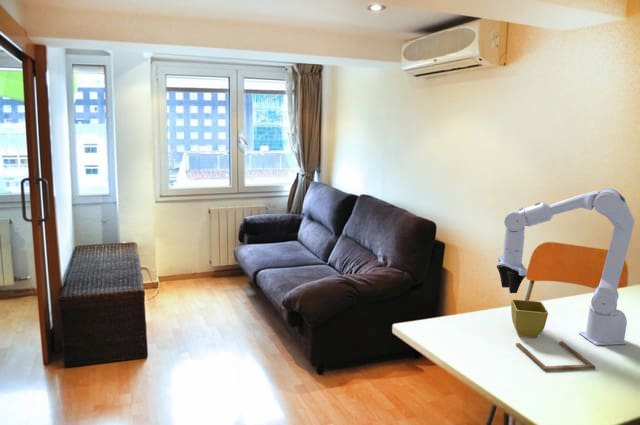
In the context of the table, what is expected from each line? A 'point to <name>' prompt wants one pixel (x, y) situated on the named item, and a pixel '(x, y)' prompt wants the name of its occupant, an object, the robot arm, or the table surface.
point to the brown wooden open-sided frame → (564, 367)
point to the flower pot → (528, 317)
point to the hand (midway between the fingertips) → (509, 290)
